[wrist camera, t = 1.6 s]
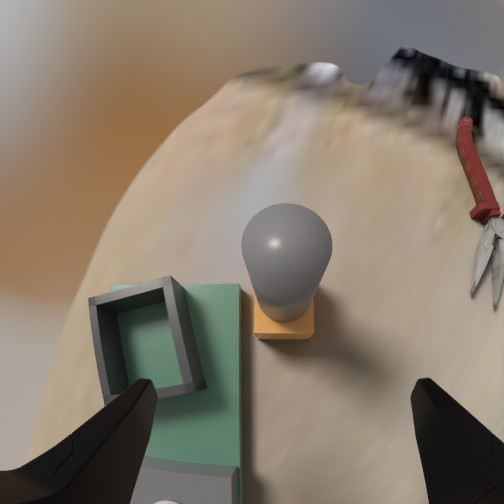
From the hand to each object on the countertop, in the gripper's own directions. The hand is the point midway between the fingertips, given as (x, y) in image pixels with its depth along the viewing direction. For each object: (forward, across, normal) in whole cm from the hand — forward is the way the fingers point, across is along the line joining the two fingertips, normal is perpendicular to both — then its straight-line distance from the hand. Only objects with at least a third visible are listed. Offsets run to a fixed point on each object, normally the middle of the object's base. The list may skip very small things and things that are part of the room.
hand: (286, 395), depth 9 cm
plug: (+12, 0, +5) cm, 13 cm away
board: (+5, +8, +11) cm, 15 cm away
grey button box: (0, +6, +14) cm, 16 cm away
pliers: (+20, -20, -2) cm, 29 cm away
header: (+9, +9, +6) cm, 14 cm away
